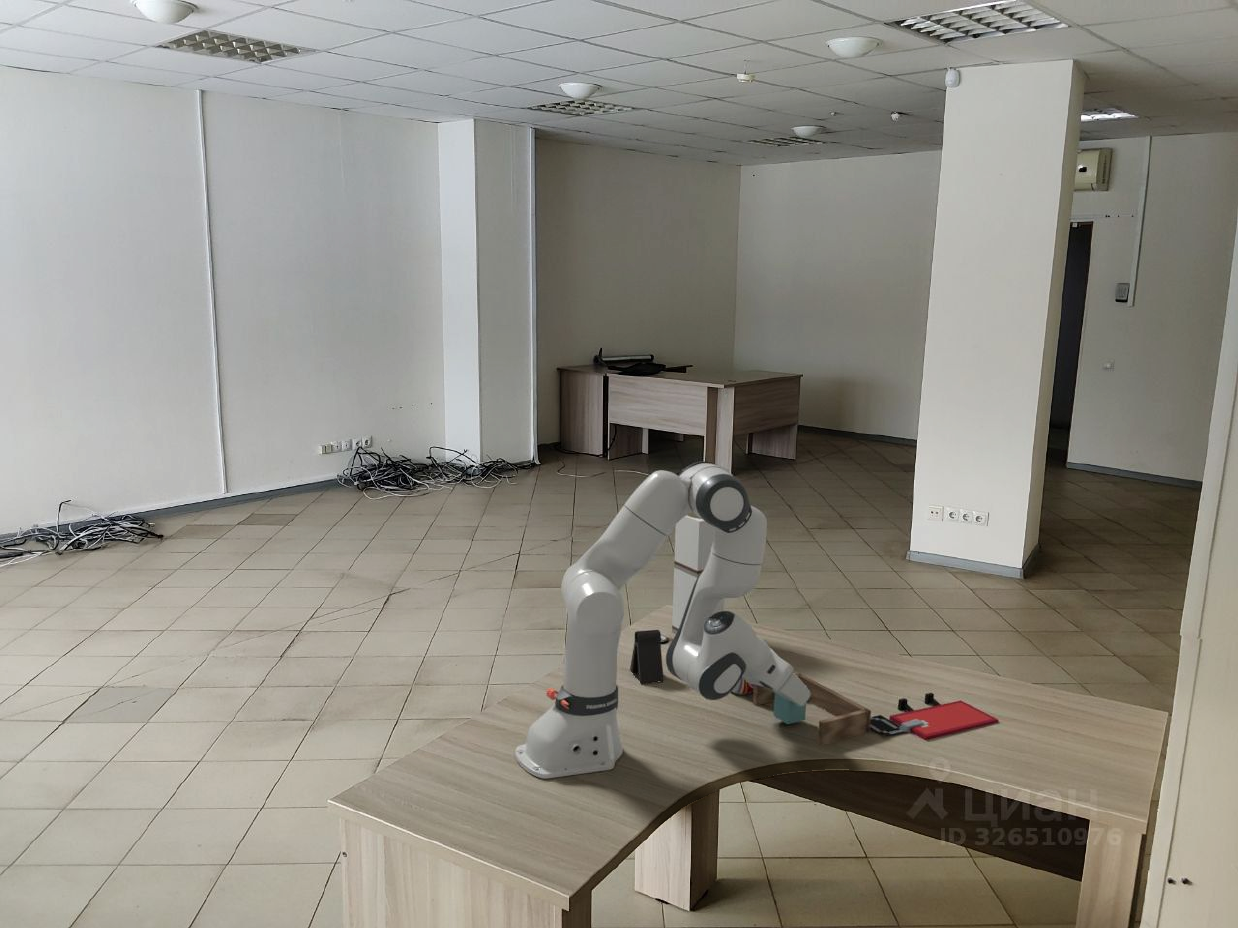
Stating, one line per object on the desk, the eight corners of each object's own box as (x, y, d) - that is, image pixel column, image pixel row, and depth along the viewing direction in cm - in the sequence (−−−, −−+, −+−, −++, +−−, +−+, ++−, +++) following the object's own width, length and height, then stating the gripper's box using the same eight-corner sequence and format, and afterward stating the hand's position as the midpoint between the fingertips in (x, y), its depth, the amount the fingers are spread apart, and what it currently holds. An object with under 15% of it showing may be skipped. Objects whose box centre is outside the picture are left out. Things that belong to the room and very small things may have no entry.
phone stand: (629, 670, 245) (631, 626, 243) (652, 668, 247) (653, 624, 245) (640, 684, 237) (642, 638, 235) (663, 682, 239) (665, 636, 237)
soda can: (746, 698, 230) (748, 651, 228) (720, 691, 234) (722, 644, 232) (760, 689, 235) (762, 643, 233) (735, 682, 239) (737, 636, 237)
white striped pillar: (725, 638, 270) (731, 517, 264) (694, 644, 265) (699, 521, 259) (702, 626, 280) (707, 509, 274) (672, 632, 275) (676, 512, 269)
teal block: (787, 724, 214) (789, 690, 212) (773, 715, 218) (775, 682, 216) (805, 719, 216) (807, 686, 215) (790, 711, 220) (792, 678, 219)
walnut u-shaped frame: (821, 744, 207) (822, 723, 206) (753, 703, 227) (754, 683, 226) (869, 731, 214) (871, 710, 213) (798, 692, 234) (799, 673, 233)
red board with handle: (852, 719, 220) (899, 748, 207) (853, 708, 219) (900, 736, 206) (948, 699, 233) (997, 725, 220) (949, 688, 233) (999, 713, 220)
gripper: (720, 658, 218) (752, 691, 224) (778, 691, 200) (811, 725, 207) (736, 637, 219) (768, 670, 226) (795, 667, 202) (828, 702, 208)
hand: (789, 697), depth 216 cm, fingers closed on teal block, 5 cm apart
